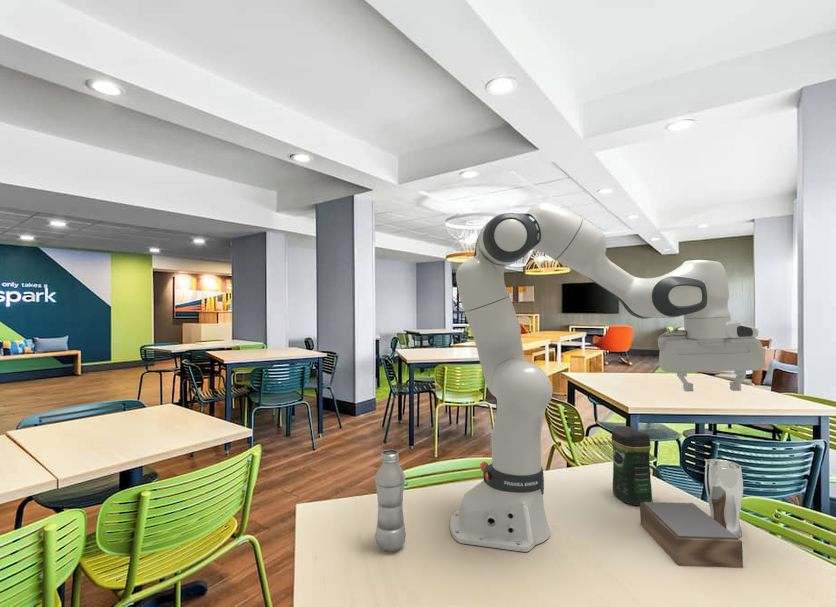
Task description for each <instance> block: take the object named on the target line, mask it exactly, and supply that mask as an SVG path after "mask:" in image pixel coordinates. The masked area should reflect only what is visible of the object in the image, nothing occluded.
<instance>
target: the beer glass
mask: <svg viewBox="0 0 836 607" xmlns="http://www.w3.org/2000/svg"><path fill="white" fill-rule="evenodd" d="M704 468H705V469H704V485H705V486H704V487H705V491H706V495H707V501H708V504H709V505H708V506H709V511H710V512H709V513H710V515H709V516H710V517H711V518H713V519H714V520H715V521H717V522H718V523H719V524H721V525H722V526H723V527H724V528H726V529H727V530H728V531H730V532H731V533H732V534H734V535H735V536H736V537H737V538H739V539H740V538H741V537H742V536H743V531H742V527H741V522H740V513H741V506H742V504H743V503H742V501H743V496H744V481H743V480H744V479H743V473H742V466H741V465H740V464H739V463H736V462H733V461H730V460H725V459H719V458H710V459H706V460H705V467H704Z"/></svg>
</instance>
